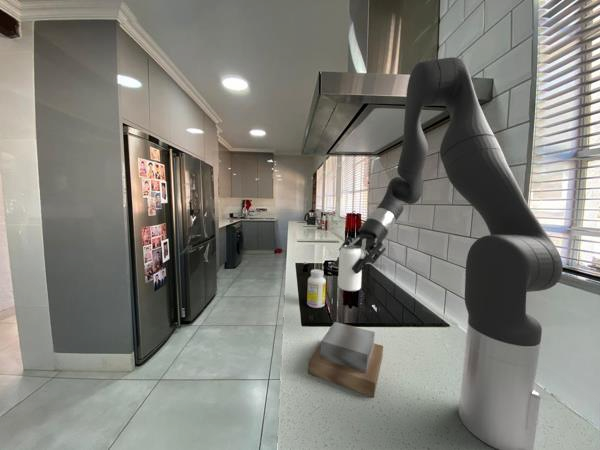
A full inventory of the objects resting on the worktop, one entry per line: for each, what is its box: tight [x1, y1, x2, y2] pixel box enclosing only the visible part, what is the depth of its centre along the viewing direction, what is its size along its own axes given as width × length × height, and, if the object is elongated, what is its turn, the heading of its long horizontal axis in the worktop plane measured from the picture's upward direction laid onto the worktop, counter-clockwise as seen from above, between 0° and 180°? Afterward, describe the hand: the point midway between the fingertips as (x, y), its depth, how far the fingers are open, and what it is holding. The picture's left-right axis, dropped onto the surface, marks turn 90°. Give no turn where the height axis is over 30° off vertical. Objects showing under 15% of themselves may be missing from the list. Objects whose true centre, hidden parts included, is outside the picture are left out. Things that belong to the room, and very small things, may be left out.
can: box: [337, 245, 363, 292], centre depth 69 cm, size 6×6×12 cm
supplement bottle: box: [306, 268, 327, 309], centre depth 89 cm, size 7×7×13 cm
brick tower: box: [307, 321, 384, 398], centre depth 56 cm, size 14×14×7 cm
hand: (345, 268), depth 68 cm, fingers closed on can, 6 cm apart
